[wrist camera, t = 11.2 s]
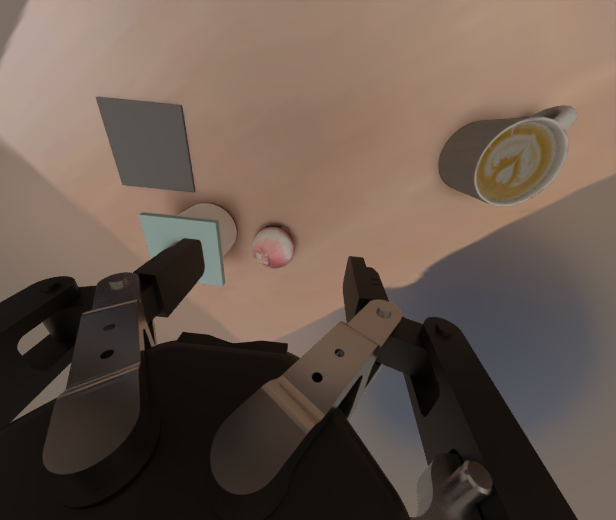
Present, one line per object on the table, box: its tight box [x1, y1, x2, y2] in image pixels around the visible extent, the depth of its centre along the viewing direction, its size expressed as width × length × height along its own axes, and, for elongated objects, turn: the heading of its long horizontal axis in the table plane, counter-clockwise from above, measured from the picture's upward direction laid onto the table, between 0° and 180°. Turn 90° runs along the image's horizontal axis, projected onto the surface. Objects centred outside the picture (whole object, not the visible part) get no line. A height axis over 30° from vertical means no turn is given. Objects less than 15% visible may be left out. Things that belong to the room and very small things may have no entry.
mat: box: [96, 97, 195, 192], centre depth 38 cm, size 13×13×1 cm
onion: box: [252, 226, 294, 268], centre depth 42 cm, size 8×8×7 cm
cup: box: [176, 203, 237, 258], centre depth 40 cm, size 10×10×10 cm
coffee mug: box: [439, 106, 577, 206], centre depth 31 cm, size 13×10×10 cm
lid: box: [139, 212, 225, 286], centre depth 33 cm, size 11×11×6 cm
